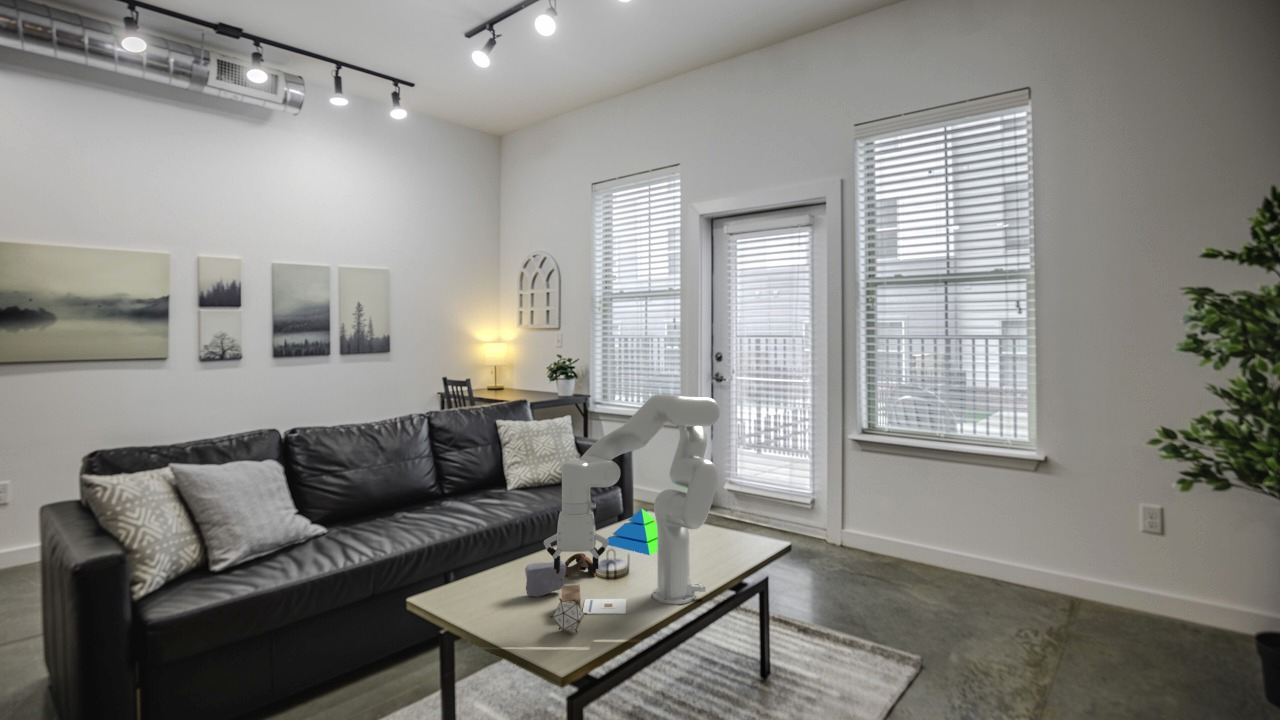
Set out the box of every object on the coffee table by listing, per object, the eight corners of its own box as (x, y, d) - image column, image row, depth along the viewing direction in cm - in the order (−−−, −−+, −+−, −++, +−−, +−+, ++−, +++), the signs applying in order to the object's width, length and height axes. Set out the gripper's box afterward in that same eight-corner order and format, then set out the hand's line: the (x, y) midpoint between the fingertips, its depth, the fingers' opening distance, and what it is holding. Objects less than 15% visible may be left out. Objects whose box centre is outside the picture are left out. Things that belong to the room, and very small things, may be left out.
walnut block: (579, 584, 178) (579, 599, 170) (580, 600, 178) (581, 616, 171) (561, 586, 177) (561, 601, 169) (563, 602, 178) (562, 618, 170)
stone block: (526, 601, 182) (525, 567, 182) (524, 595, 186) (524, 562, 186) (566, 597, 185) (566, 563, 185) (564, 591, 189) (564, 558, 189)
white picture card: (626, 599, 183) (626, 598, 183) (625, 614, 173) (625, 612, 173) (585, 600, 183) (585, 598, 183) (582, 614, 173) (582, 612, 173)
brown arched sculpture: (598, 582, 197) (586, 561, 196) (571, 594, 198) (559, 574, 196) (598, 561, 209) (587, 541, 207) (573, 573, 210) (561, 554, 208)
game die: (552, 625, 166) (539, 620, 157) (568, 595, 169) (556, 588, 161) (580, 642, 162) (568, 637, 154) (596, 610, 166) (585, 604, 157)
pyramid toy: (595, 548, 234) (595, 510, 234) (634, 533, 254) (634, 497, 254) (650, 561, 219) (650, 520, 219) (687, 543, 240) (687, 506, 240)
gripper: (609, 504, 170) (609, 567, 170) (545, 504, 170) (545, 567, 170) (608, 511, 163) (608, 576, 163) (541, 511, 163) (541, 577, 163)
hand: (576, 571), depth 167 cm, fingers open, 9 cm apart
